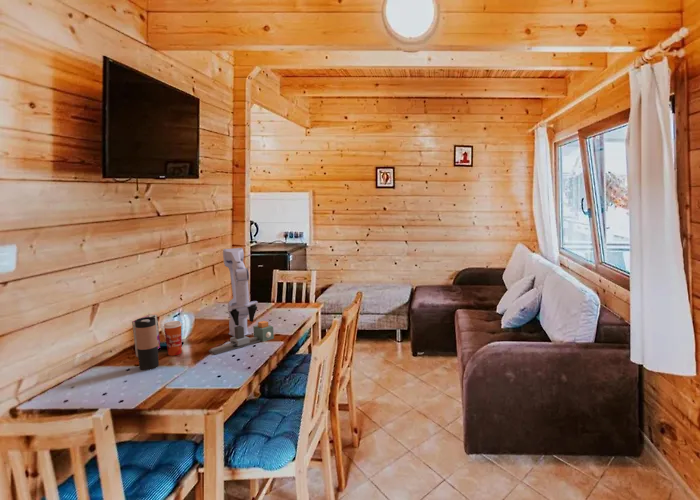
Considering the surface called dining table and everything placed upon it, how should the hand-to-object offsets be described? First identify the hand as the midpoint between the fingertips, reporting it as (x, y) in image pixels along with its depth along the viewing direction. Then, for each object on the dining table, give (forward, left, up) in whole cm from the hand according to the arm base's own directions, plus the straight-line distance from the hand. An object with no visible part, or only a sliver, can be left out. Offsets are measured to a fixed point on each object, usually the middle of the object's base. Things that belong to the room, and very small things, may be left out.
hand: (244, 323), depth 202 cm
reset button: (0, +10, -5) cm, 11 cm away
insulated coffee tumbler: (-23, -36, -10) cm, 44 cm away
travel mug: (-5, -42, -10) cm, 43 cm away
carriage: (0, -3, -9) cm, 9 cm away
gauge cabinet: (0, +10, -10) cm, 14 cm away
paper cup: (-13, -28, -10) cm, 32 cm away
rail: (0, -5, -10) cm, 11 cm away
